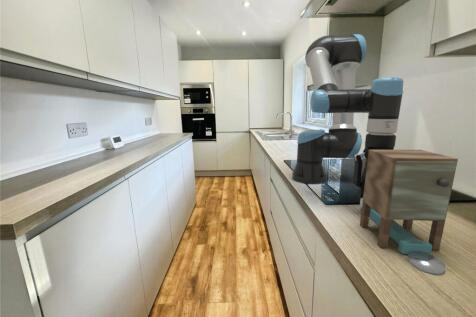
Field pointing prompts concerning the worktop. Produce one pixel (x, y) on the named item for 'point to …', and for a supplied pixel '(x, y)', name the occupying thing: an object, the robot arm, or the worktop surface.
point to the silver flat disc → (426, 262)
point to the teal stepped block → (402, 236)
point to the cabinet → (408, 190)
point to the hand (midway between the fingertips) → (371, 207)
